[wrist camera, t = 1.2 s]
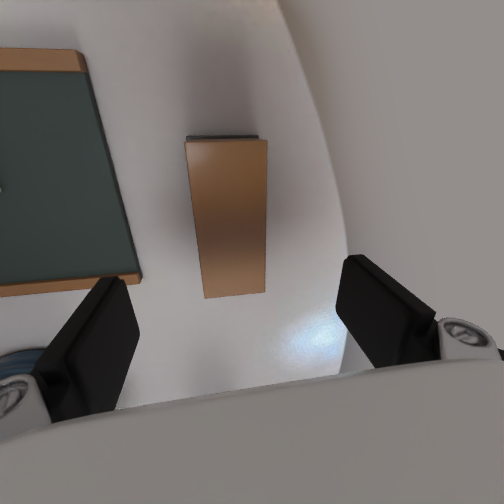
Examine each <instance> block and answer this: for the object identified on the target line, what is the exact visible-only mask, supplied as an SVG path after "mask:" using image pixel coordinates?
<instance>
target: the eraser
mask: <svg viewBox="0 0 504 504" xmlns="http://www.w3.org/2000/svg"><path fill="white" fill-rule="evenodd" d="M186 140H187V141H186V142H185V143H184V145H185V152H186V160H187V168H188V175H189V183H190V191H191V199H192V206H193V214H194V222H195V229H196V237H197V245H198V252H199V260H200V268H201V275H202V283H203V291H204V298H205V299H207V298H216V297H226V296H235V295H244V294H254V293H263V292H265V267H266V199H267V140H263V139H259V135H204V136H186Z"/></svg>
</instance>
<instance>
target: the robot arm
mask: <svg viewBox="0 0 504 504" xmlns="http://www.w3.org/2000/svg"><path fill="white" fill-rule="evenodd" d="M336 312H337V315H338V316H339V317H340V319H341V320H342V322H343V323H344V325H345V326H346V327H347V329H348V330H349V332H350V333H351V335H352V336H353V337H354V339H355V340H356V342H357V343H358V345H359V346H360V347H361V349H362V350H363V352H364V353H365V354H366V356H367V357H368V359H369V360H370V362H371V363H372V364H373V366H374V367H375V369H370V370H363V371H356V372H349V373H343V374H336V375H329V376H323V377H316V378H310V379H304V380H297V381H291V382H285V383H278V384H272V385H266V386H259V387H253V388H247V389H240V390H234V391H228V392H222V393H216V394H209V395H203V396H197V397H191V398H185V399H179V400H173V401H167V402H160V403H154V404H148V405H143V406H137V407H132V408H126V409H120V410H115V411H114V409H115V407H116V404H117V401H118V398H119V395H120V392H121V389H122V386H123V384H124V381H125V378H126V375H127V372H128V369H129V366H130V363H131V360H132V358H133V355H134V352H135V349H136V346H137V343H138V340H139V336H140V331H139V327H138V323H137V320H136V317H135V313H134V310H133V307H132V303H131V300H130V297H129V293H128V290H127V286H126V283H125V281H124V279H120V278H119V277H118V276H110V277H101V278H100V279H99V280H98V281H97V283H96V284H95V285H94V287H93V288H92V289H91V291H90V292H89V293H88V294H87V296H86V297H85V298H84V300H83V301H82V302H81V304H80V305H79V306H78V308H77V309H76V310H75V312H74V313H73V314H72V315H71V317H70V318H69V319H68V321H67V322H66V323H65V325H64V326H63V327H62V329H61V330H60V331H59V332H58V334H57V335H56V336H55V338H54V339H53V340H52V342H51V343H50V344H49V346H48V347H47V348H46V350H45V351H44V352H43V353H42V355H41V356H40V357H39V359H38V360H37V361H36V363H35V364H34V365H35V367H34V368H33V369H32V371H31V372H30V373H29V375H28V374H19V375H14V376H10V377H7V378H5V379H2V380H0V504H504V350H501V349H498V348H497V346H496V343H495V341H494V340H493V338H492V336H490V335H489V334H488V333H487V332H486V331H485V330H483V329H482V328H480V327H479V326H476V325H475V324H473V323H470V322H468V321H465V320H462V319H457V318H442V319H441V320H440V321H438V322H437V321H436V320H435V319H434V317H435V314H436V312H435V311H434V310H433V309H431V308H430V307H429V306H427V305H426V304H425V303H424V302H422V301H421V300H420V299H418V298H417V297H416V296H415V295H414V294H412V293H411V292H410V291H408V290H407V289H406V288H405V287H403V286H402V285H401V284H400V283H398V282H397V281H396V280H395V279H393V278H392V277H391V276H389V275H388V274H387V273H386V272H385V271H383V270H382V269H381V268H379V267H378V266H377V265H376V264H374V263H373V262H372V261H371V260H369V259H368V258H367V257H366V256H364V255H361V254H359V255H349V256H348V257H347V259H345V260H344V262H343V268H342V273H341V279H340V285H339V290H338V296H337V301H336Z"/></svg>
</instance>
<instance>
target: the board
mask: <svg viewBox="0 0 504 504" xmlns="http://www.w3.org/2000/svg"><path fill="white" fill-rule="evenodd" d="M0 188H1V190H2V192H0V297H7V296H17V295H28V294H38V293H49V292H59V291H70V290H80V289H91V288H93V287H94V285H95V284H96V283H97V281H98V280H99V279H100V278H101V277H110V276H118V277H119V278H120V279H124V281H125V283H126V285H133V284H140V282H141V280H142V274H141V271H140V267H139V263H138V260H137V256H136V252H135V248H134V244H133V241H132V237H131V233H130V229H129V226H128V222H127V218H126V214H125V211H124V207H123V203H122V199H121V196H120V192H119V188H118V184H117V180H116V177H115V173H114V169H113V165H112V162H111V158H110V154H109V150H108V147H107V143H106V139H105V135H104V132H103V128H102V124H101V120H100V116H99V113H98V109H97V105H96V101H95V98H94V94H93V90H92V86H91V83H90V79H89V75H88V71H87V67H86V63H85V59H84V56H83V54H82V53H80V52H78V51H76V50H73V49H36V48H0Z"/></svg>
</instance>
